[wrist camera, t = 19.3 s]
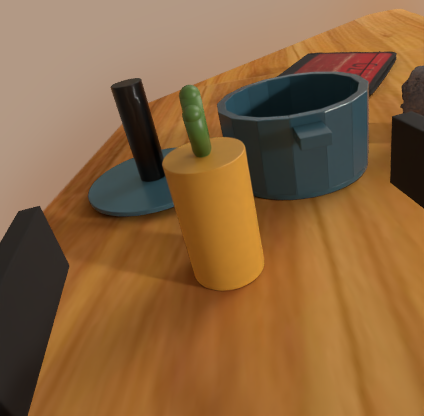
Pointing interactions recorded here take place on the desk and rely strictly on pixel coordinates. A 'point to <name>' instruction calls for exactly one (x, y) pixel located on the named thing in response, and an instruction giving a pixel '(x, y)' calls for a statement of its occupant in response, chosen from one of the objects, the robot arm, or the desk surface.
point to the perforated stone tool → (414, 92)
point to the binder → (347, 65)
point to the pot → (300, 132)
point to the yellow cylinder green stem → (214, 202)
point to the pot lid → (134, 161)
